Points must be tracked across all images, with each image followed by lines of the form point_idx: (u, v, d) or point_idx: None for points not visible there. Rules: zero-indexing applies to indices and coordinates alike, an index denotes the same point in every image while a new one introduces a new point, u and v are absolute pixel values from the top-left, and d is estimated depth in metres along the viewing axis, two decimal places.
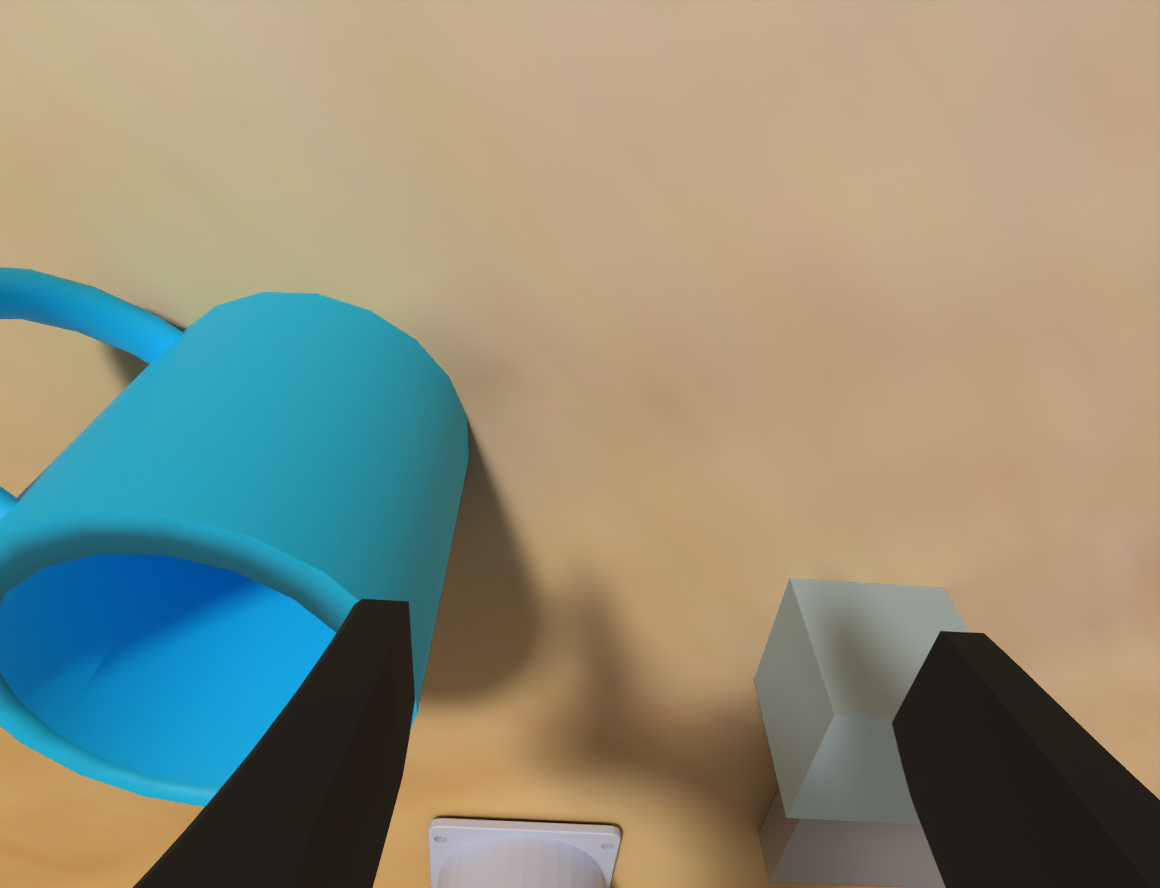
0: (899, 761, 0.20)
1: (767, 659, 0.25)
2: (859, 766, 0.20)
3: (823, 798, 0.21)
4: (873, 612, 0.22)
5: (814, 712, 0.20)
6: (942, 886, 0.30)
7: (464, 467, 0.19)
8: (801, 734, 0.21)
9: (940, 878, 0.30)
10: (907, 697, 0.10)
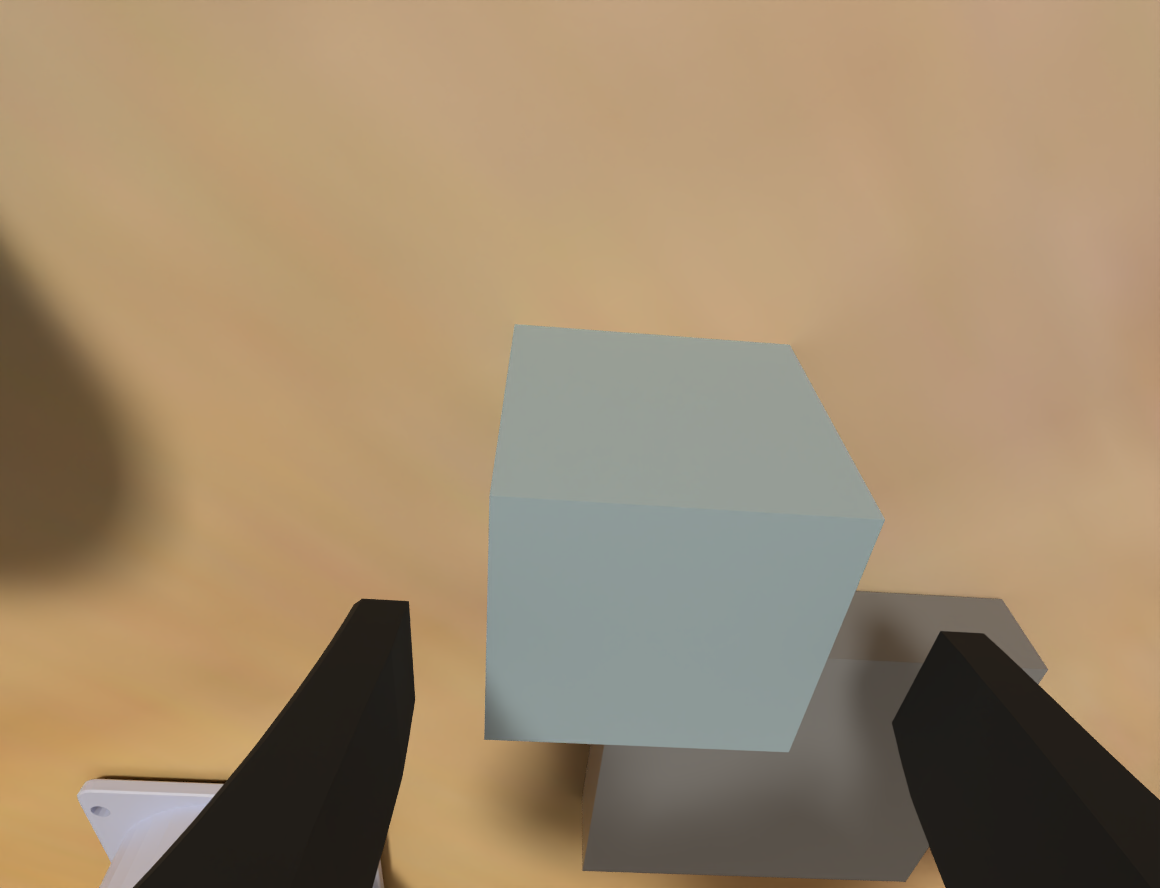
0: (659, 613, 0.10)
1: None
2: (582, 624, 0.10)
3: (538, 697, 0.11)
4: (646, 366, 0.12)
5: None
6: (844, 875, 0.20)
7: None
8: None
9: (839, 863, 0.20)
10: (907, 697, 0.10)
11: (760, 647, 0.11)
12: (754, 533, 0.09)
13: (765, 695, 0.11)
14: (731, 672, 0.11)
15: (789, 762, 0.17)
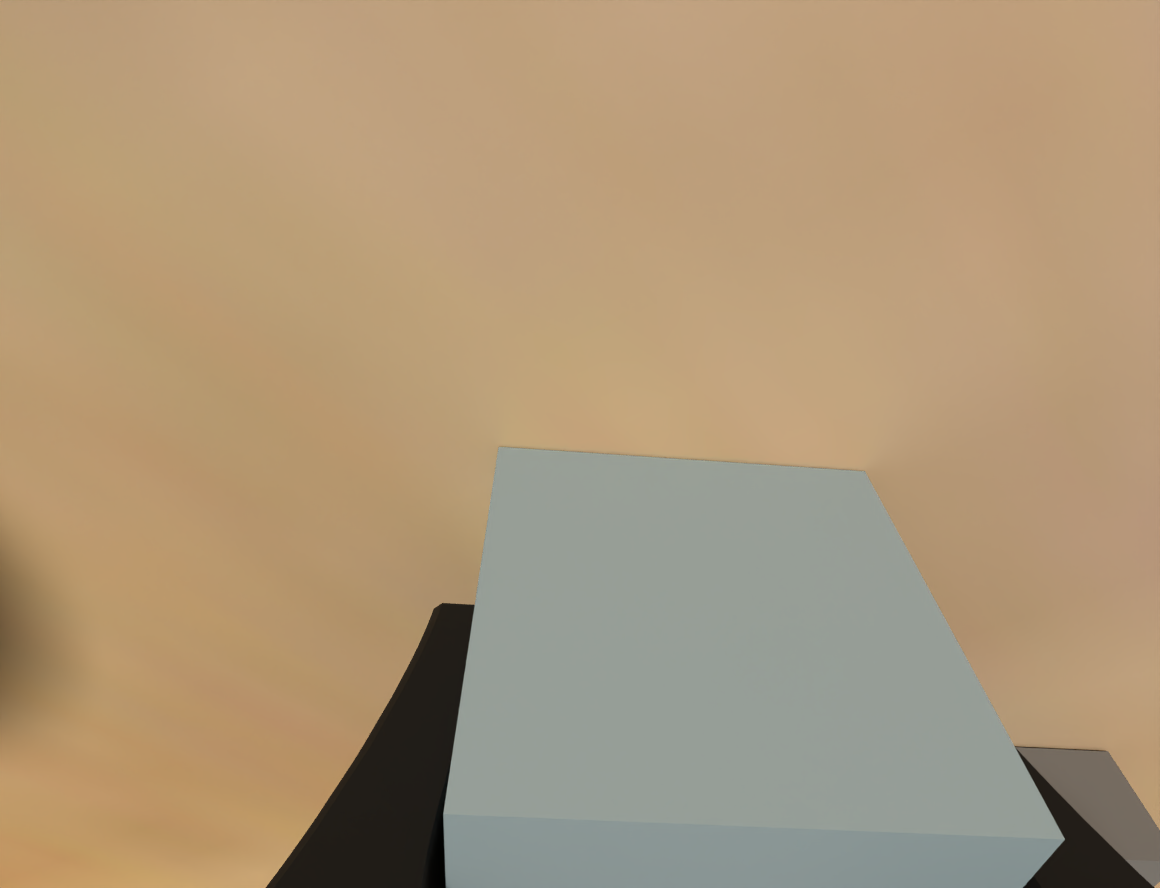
0: None
1: None
2: None
3: None
4: (678, 522, 0.09)
5: None
6: None
7: None
8: None
9: None
10: None
11: None
12: (858, 853, 0.06)
13: None
14: None
15: None
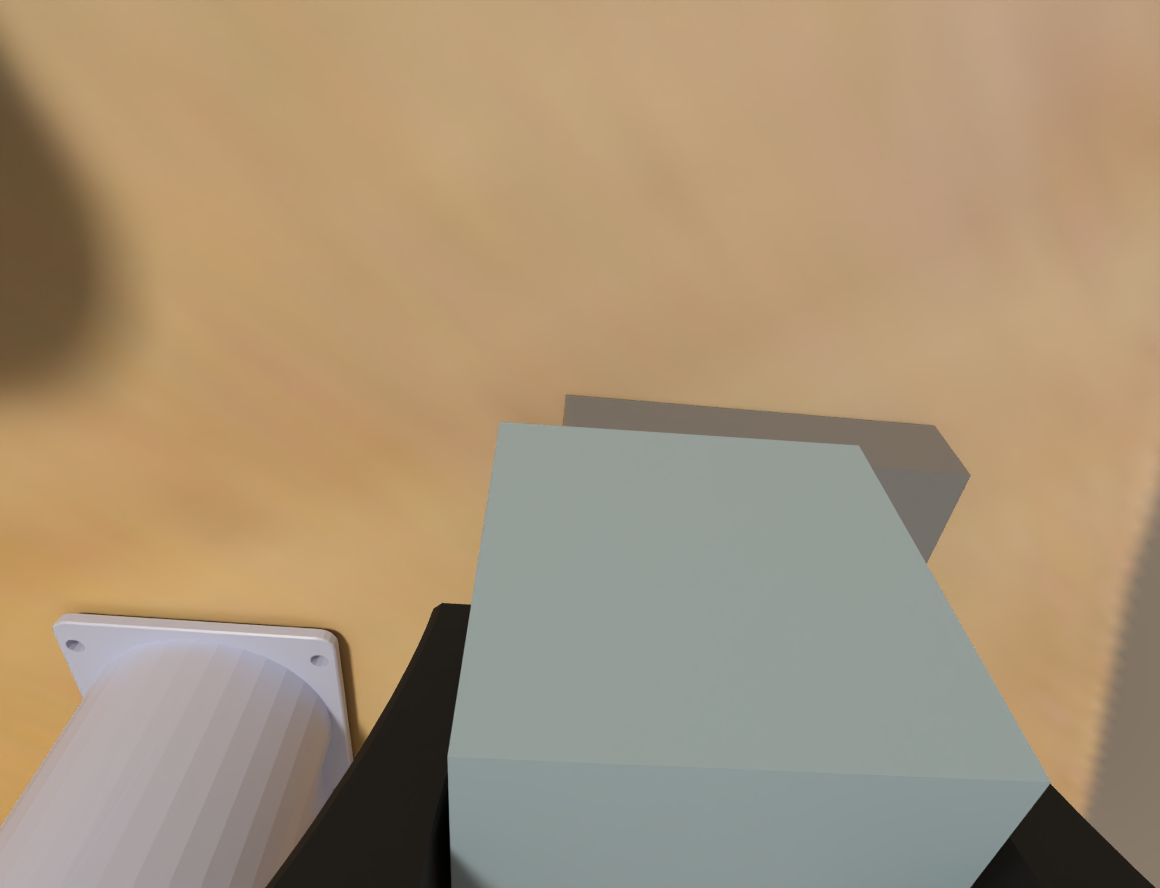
0: (701, 885, 0.07)
1: None
2: None
3: None
4: (675, 492, 0.09)
5: None
6: None
7: None
8: None
9: None
10: None
11: None
12: (852, 798, 0.06)
13: None
14: None
15: None
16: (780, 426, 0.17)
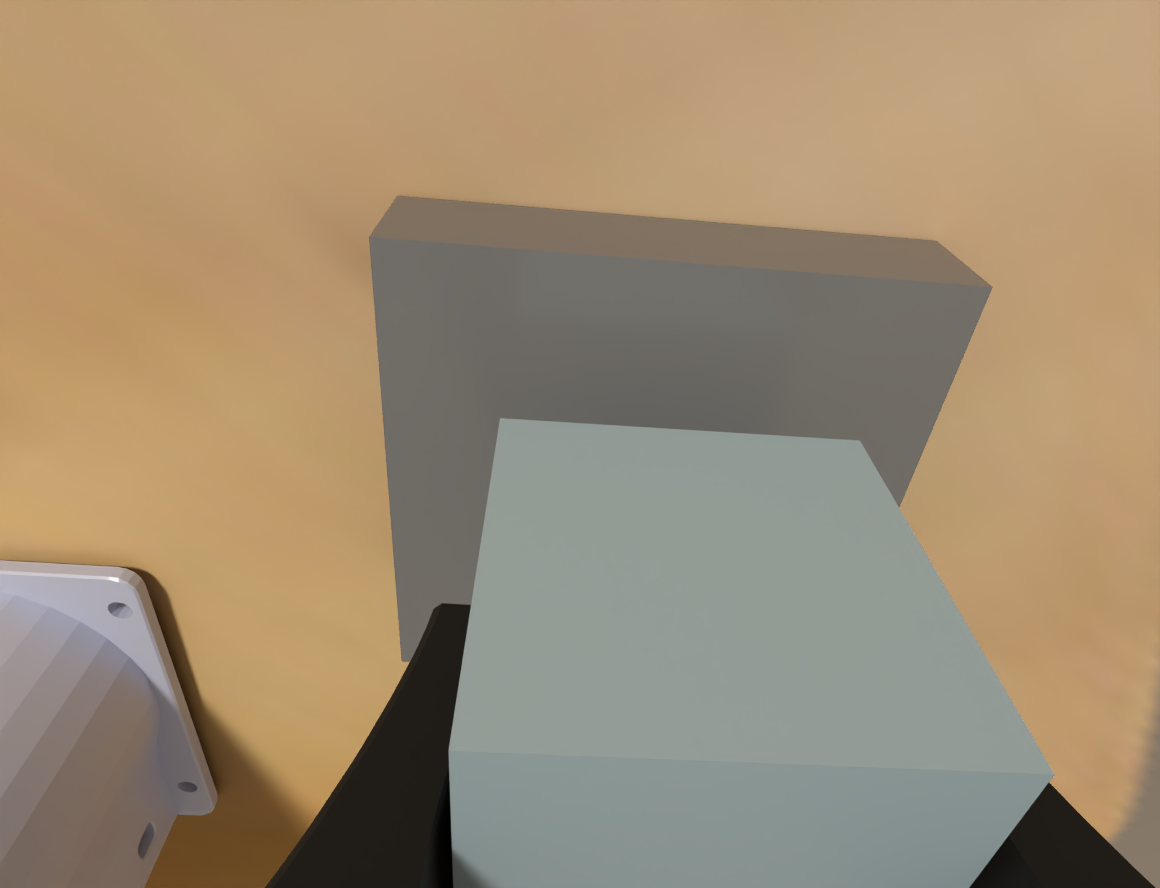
0: (704, 881, 0.07)
1: None
2: None
3: None
4: (676, 487, 0.09)
5: None
6: None
7: None
8: None
9: None
10: None
11: None
12: (852, 791, 0.06)
13: None
14: None
15: None
16: (710, 234, 0.12)
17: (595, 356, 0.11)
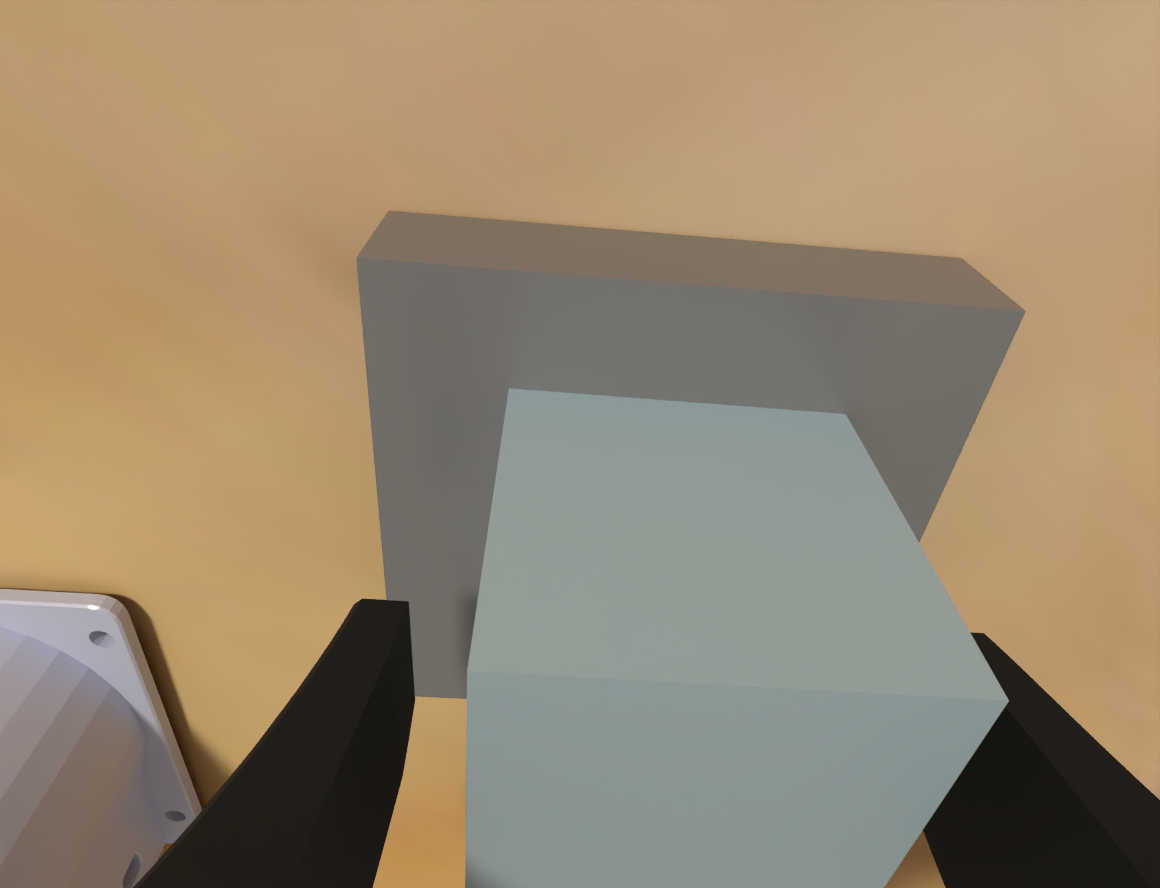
0: (694, 800, 0.08)
1: None
2: (591, 812, 0.08)
3: (533, 886, 0.09)
4: (673, 452, 0.10)
5: None
6: None
7: None
8: None
9: None
10: None
11: (824, 836, 0.08)
12: (829, 715, 0.07)
13: (825, 885, 0.09)
14: (785, 862, 0.08)
15: None
16: (721, 252, 0.11)
17: (599, 383, 0.11)
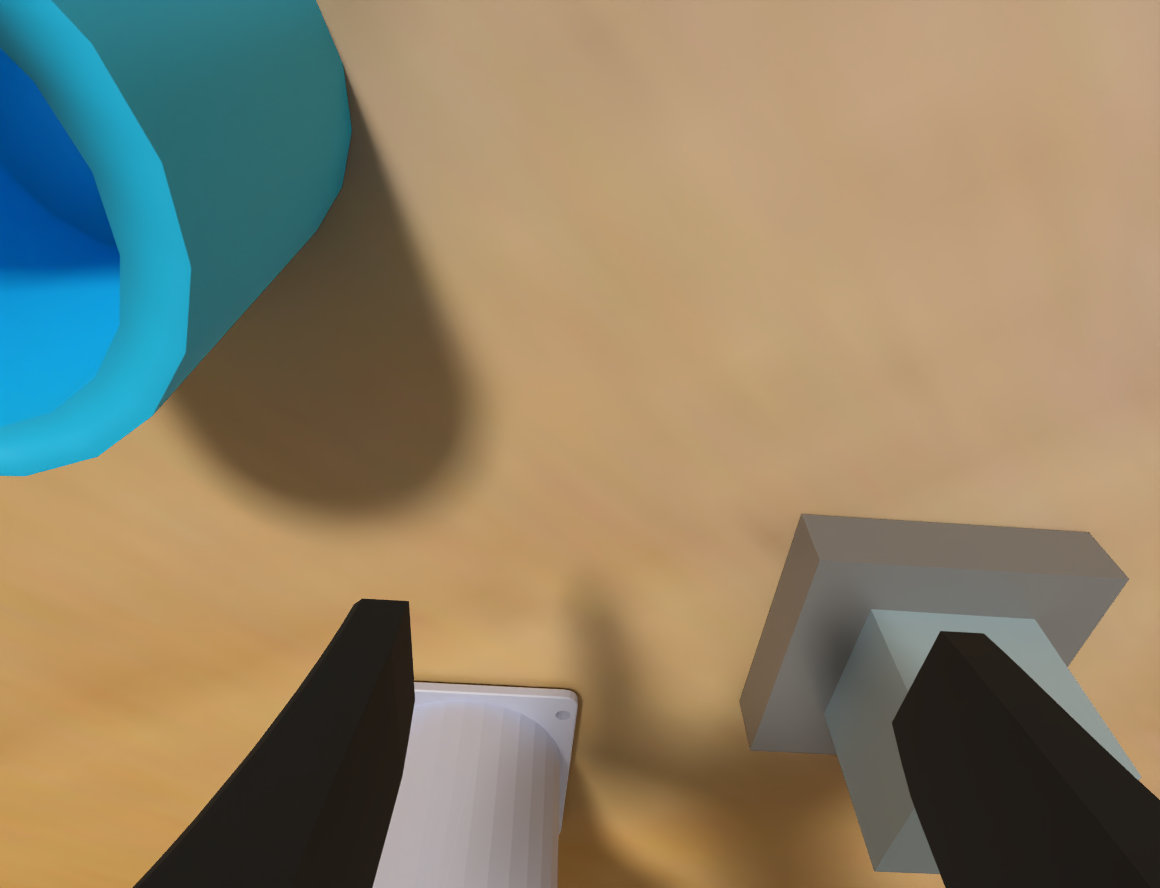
0: None
1: (843, 696, 0.23)
2: None
3: (917, 851, 0.20)
4: None
5: None
6: None
7: (338, 123, 0.15)
8: (893, 783, 0.20)
9: None
10: (907, 697, 0.10)
11: None
12: None
13: None
14: None
15: None
16: (972, 538, 0.22)
17: (916, 606, 0.22)
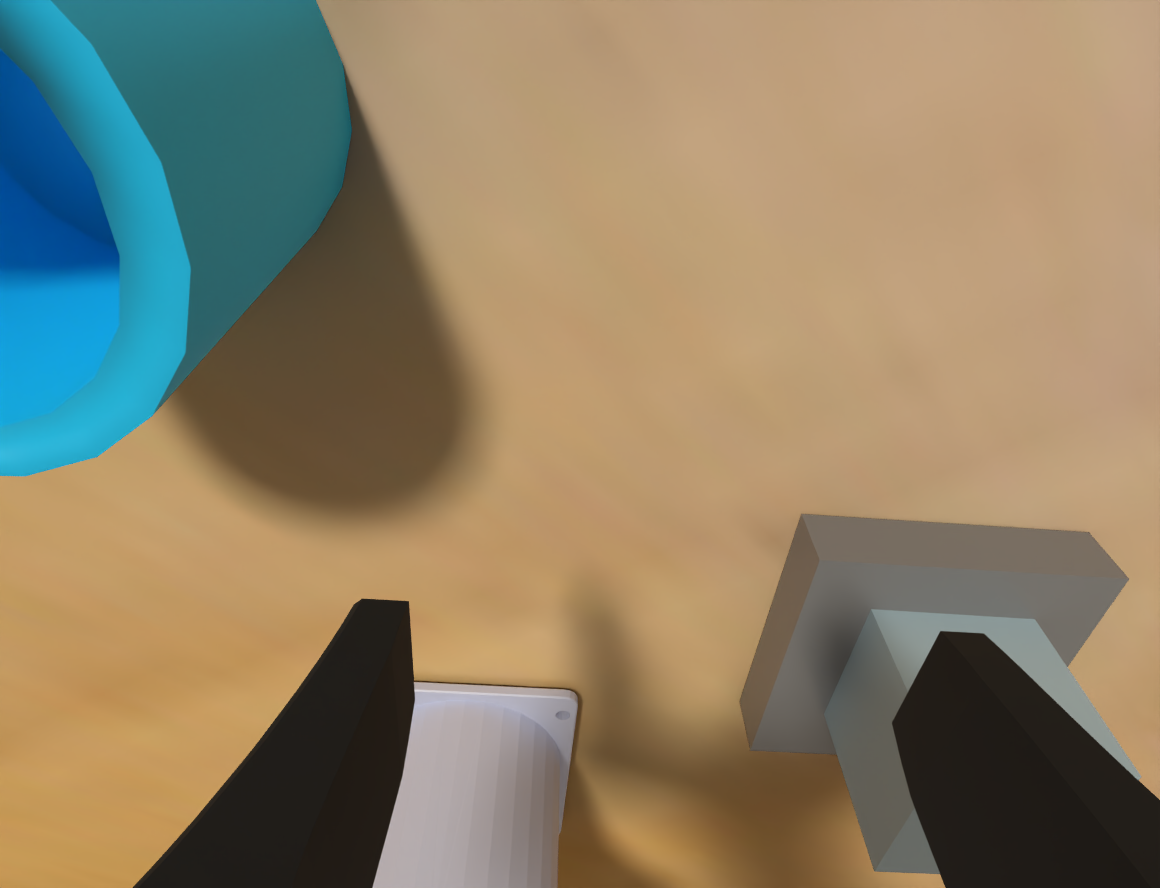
0: None
1: (843, 696, 0.23)
2: None
3: (917, 851, 0.20)
4: None
5: None
6: None
7: (338, 123, 0.15)
8: (893, 783, 0.20)
9: None
10: (907, 697, 0.10)
11: None
12: None
13: None
14: None
15: None
16: (972, 538, 0.22)
17: (916, 606, 0.22)
